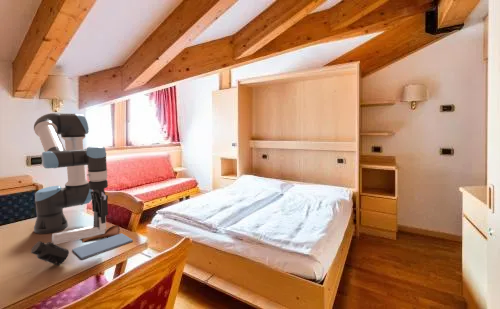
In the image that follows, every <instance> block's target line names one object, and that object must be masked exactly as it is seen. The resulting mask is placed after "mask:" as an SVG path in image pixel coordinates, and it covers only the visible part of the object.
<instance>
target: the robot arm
mask: <svg viewBox="0 0 500 309" xmlns="http://www.w3.org/2000/svg"><path fill="white" fill-rule="evenodd" d="M33 131H34V133H35V135H36V136H37V137H39V140H40V143H41V145H42V148H43V150H44V151H43V152H42V153H41V163H42V167H43V168H45V169H57V168H58V169H59V168H66V171H67V182H66V183H65V184H64V186H65V187H61V186H60V185H53V186H47V187H43V188H40V189H39V190H37V191H36V192H35V193H34V198H35V199H34V201H35V210H36V220H35V223H34V226H33V232H34V233H35V234H40V235H41V234H42V235H43V234H45V235H46V234H51V233H52V234H53V233H57V232H60V231H62V230H65V229H66V228H67V227H68V220H67V218H66V216H65V215H64V209H66V208H71V207H77V206H78V207H79V206H83V205H86V204H89V203H91V207H92V212H93V213H94V211H96V210H99V215H100V216H98V218H99V229H100V230H104V229H106V227H107V216H108V214H109V208H108V206H109V204H108V200H109V199H108V198H109V196H108V194H107V195H106V192H105V189H107V188H108V169H107V167H108V166H107V152H106V151H107V150H106V147H105V146H102V145H93V146H92V145H91V146H88V147H86V148H85V149H84V144H83V143H84V139H85V138H86V135H88V134H89V131H90V130H89V124H88V120H87V118H86V116H85V115H84V114H81V113H80V114H79V113H56V112H55V113H53V112H52V113H45V114H43V115H42V116H40V117H39V118H37V120H36V121H35V122H34V125H33ZM59 135H60V136H61V137H60V136H59ZM61 139H63V140H64V144H63V143H62V140H61ZM86 166H87V174H86V172H85V169H86ZM86 176H87V178H88V180H87V179H86Z"/></svg>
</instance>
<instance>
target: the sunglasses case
mask: <svg viewBox="0 0 500 309" xmlns="http://www.w3.org/2000/svg"><path fill="white" fill-rule="evenodd" d="M118 234H121V233H120V226H119V225H117V224H116V225H112V226H106V229H105V234H101V235H96V236H92V237H87V238H83V239H81V241H82V243H87V242H91V241H92V242H93V241H98V240H102V239H105V238H107V237H112V236H115V235H118Z"/></svg>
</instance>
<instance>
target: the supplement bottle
mask: <svg viewBox="0 0 500 309" xmlns="http://www.w3.org/2000/svg"><path fill="white" fill-rule="evenodd" d="M30 253H31V254H32V255H35V256H36V258H37V259H38V260H41V261H44V262H47V263H49V264H53V265H55V266H60V265H62V264H64V262H65V261H66V260H67V259H68V257H69V254H70V251H69V249H68V248H65V247H63V246H61V245H59V244H55V245H53V243H52V241H51V242H50V241H49V242H46V243H45V242H42V241H41V240H40V241H37V242H36V243H35V244H34V245H33V246H32V248H31V250H30Z"/></svg>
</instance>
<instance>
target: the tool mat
mask: <svg viewBox="0 0 500 309" xmlns="http://www.w3.org/2000/svg"><path fill="white" fill-rule="evenodd" d="M133 241H134V240H133V239H132V238H131V237H129V236H128V235H126V234H124V233H122V232H121V233H120V234H118V235H115V236H112V237H108V238H102V239H98V240H95V241H92V242H90V243H88V244H85V245H84V244H83V245H80V246H78V247H74V248H72V252H73V253H74V254H75V255H76V256H78V258H79V259H80V260H84V259H87V258H89V257H93V256H96V255H98V254H101V253H105V252H107V251H110V250H113V249H115V248H118V247H121V246H123V245H126V244H129V243H133Z"/></svg>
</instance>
